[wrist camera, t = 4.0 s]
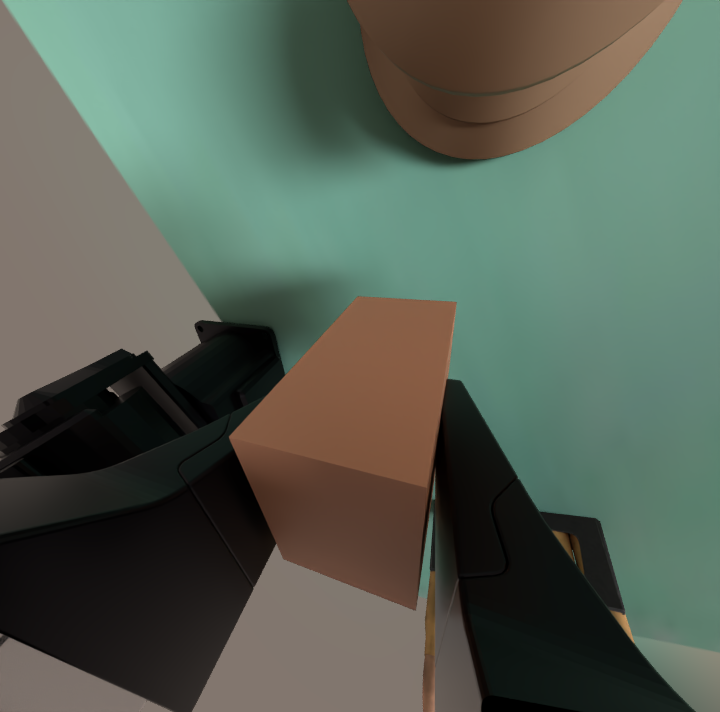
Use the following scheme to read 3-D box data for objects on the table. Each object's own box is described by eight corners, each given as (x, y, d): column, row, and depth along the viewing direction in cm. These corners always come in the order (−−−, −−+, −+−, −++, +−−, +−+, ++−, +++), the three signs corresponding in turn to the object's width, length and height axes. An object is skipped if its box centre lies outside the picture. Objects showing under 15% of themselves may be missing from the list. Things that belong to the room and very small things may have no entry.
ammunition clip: (599, 518, 19) (722, 874, 9) (597, 534, 20) (709, 877, 10) (434, 499, 23) (405, 725, 14) (438, 513, 24) (413, 735, 15)
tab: (365, 393, 11) (283, 559, 7) (357, 296, 9) (228, 437, 4) (444, 406, 10) (415, 610, 6) (456, 302, 8) (426, 487, 4)
